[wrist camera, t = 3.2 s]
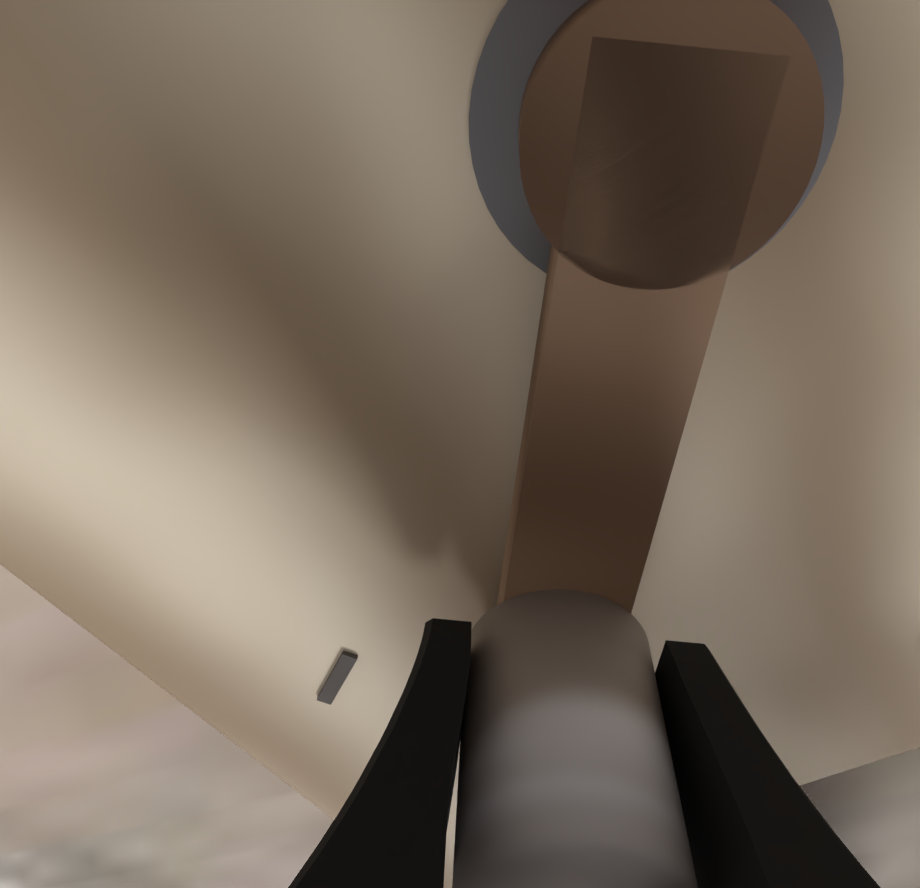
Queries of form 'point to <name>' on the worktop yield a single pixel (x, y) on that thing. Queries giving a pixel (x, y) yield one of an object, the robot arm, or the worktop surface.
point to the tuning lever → (617, 417)
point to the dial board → (423, 369)
